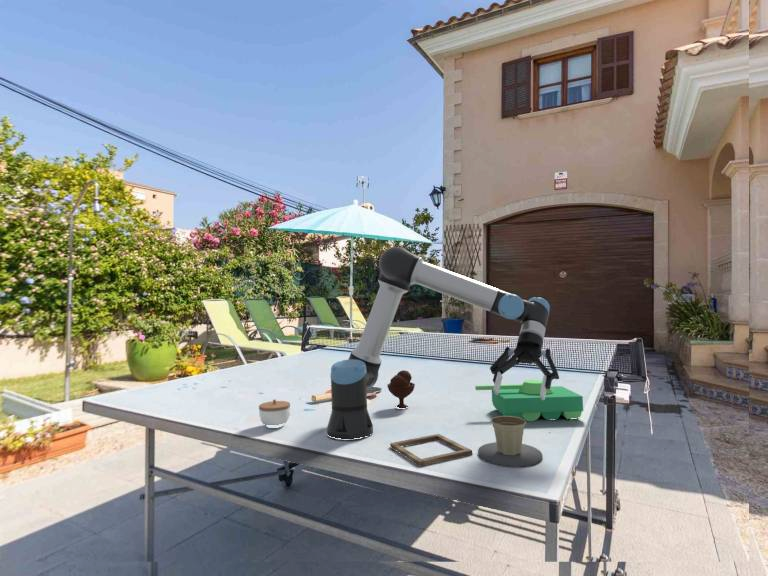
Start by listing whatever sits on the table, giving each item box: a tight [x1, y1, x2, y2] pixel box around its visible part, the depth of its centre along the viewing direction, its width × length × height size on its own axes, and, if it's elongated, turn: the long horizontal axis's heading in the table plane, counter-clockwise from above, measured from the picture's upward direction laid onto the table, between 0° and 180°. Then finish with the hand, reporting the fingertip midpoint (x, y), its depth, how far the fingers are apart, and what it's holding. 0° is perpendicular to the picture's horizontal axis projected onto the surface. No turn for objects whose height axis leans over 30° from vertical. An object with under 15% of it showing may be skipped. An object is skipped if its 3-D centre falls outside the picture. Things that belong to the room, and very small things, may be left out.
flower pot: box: [490, 415, 527, 456], centre depth 119 cm, size 9×9×9 cm
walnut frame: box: [389, 433, 473, 467], centre depth 124 cm, size 17×17×1 cm
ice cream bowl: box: [386, 369, 416, 408], centre depth 173 cm, size 11×11×15 cm
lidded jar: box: [258, 399, 291, 426], centre depth 153 cm, size 11×11×9 cm
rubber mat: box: [477, 441, 543, 468], centre depth 119 cm, size 17×17×1 cm
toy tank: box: [475, 379, 584, 422], centre depth 158 cm, size 18×12×35 cm
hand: (518, 394), depth 125 cm, fingers open, 13 cm apart
